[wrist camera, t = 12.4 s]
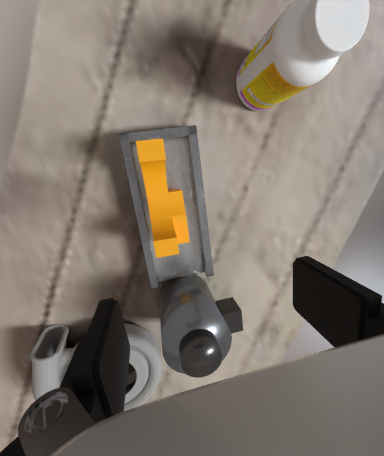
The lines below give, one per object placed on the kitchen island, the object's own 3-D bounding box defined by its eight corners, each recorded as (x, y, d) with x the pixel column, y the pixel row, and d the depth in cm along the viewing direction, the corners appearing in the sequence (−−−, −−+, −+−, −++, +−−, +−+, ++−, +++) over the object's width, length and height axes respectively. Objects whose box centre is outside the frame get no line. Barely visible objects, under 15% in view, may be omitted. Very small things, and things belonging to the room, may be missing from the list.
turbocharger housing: (153, 384, 38) (163, 312, 35) (156, 425, 32) (169, 342, 29) (45, 397, 34) (45, 315, 30) (26, 448, 28) (23, 352, 24)
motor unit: (121, 137, 26) (99, 110, 15) (204, 127, 28) (242, 96, 16) (160, 324, 34) (165, 401, 23) (224, 308, 36) (259, 373, 24)
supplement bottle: (281, 110, 29) (376, 65, 17) (236, 114, 28) (301, 70, 16) (281, 52, 27) (386, -44, 15) (232, 55, 26) (303, -47, 14)
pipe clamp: (185, 235, 30) (194, 251, 24) (154, 240, 29) (156, 258, 23) (174, 144, 27) (181, 136, 21) (139, 148, 26) (135, 140, 20)
